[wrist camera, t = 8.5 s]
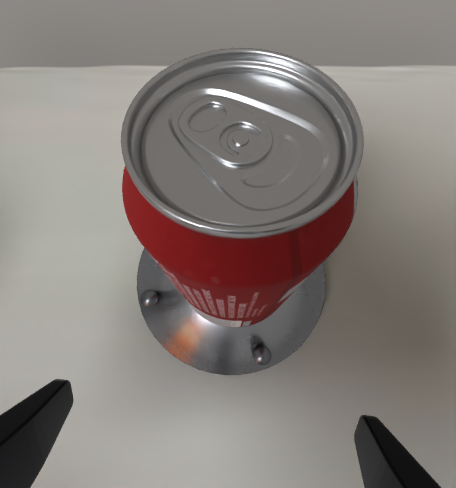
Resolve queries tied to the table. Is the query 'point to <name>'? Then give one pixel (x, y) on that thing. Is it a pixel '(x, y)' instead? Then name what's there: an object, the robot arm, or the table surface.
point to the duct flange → (226, 338)
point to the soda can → (240, 177)
